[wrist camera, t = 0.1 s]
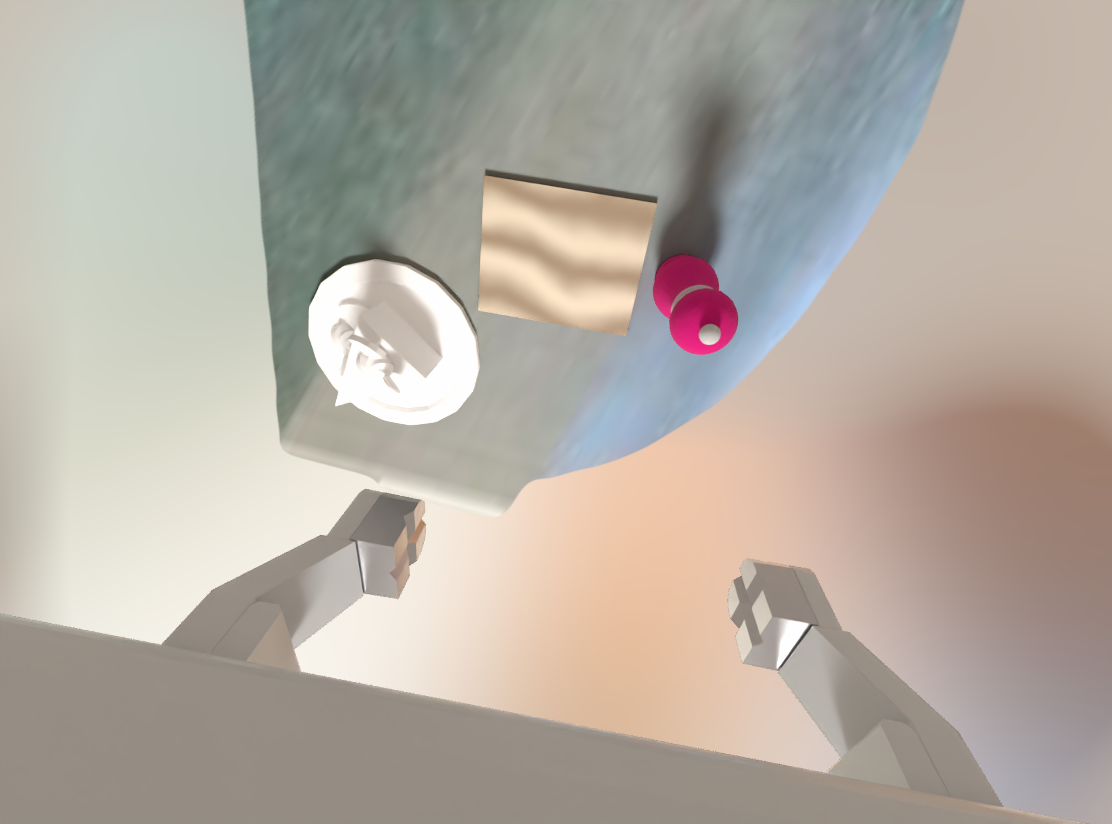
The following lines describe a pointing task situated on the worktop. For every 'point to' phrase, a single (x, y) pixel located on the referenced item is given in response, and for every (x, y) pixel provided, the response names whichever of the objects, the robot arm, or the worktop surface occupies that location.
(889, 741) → the robot arm
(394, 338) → the dish
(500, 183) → the wooden board
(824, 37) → the worktop surface
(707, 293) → the pepper mill
